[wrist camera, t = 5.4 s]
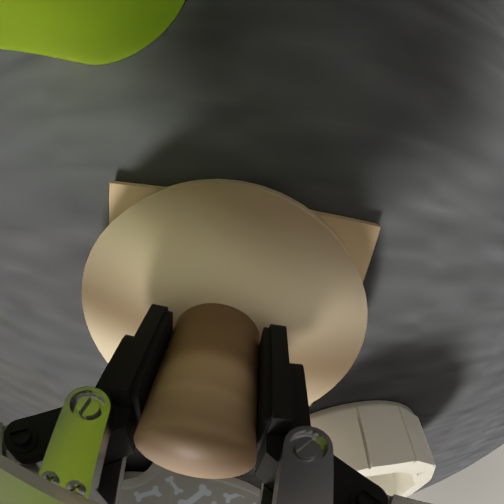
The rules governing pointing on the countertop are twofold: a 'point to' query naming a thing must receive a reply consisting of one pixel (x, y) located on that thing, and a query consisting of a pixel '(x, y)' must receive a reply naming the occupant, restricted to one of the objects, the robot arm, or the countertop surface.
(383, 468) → the bowl
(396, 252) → the countertop surface
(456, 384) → the countertop surface
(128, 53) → the soap dispenser
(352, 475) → the robot arm
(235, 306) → the lid
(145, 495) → the dog bowl
